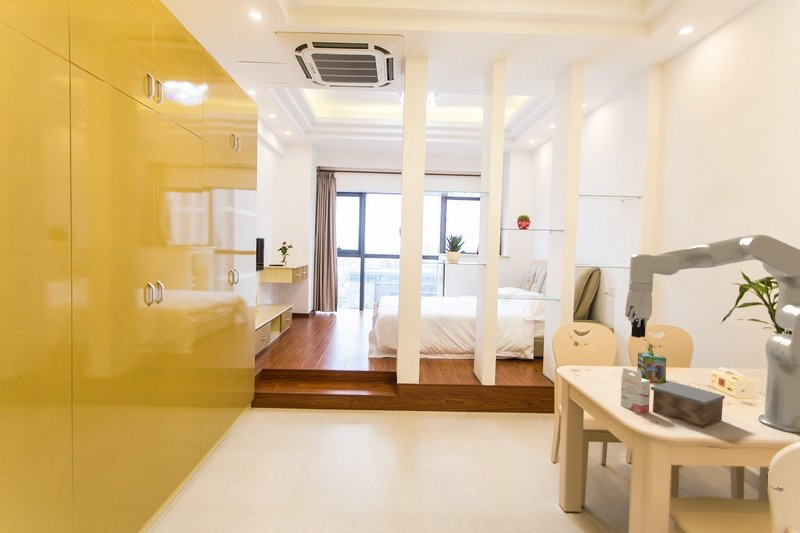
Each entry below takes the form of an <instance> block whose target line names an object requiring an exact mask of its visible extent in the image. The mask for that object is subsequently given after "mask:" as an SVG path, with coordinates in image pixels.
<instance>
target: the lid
mask: <svg viewBox="0 0 800 533" xmlns="http://www.w3.org/2000/svg"><path fill="white" fill-rule="evenodd" d="M650 391H653V392H654V391H657V392H661V393H664V394H668V395H671V396H674V397H678V398H681V399H685V400H688V401H691V402H695V403H698V404H702V405H707V404H710V403H713V402H716V401H719V400H722V399H723V400H724V399H725V398H726V396H725V395H724V394H720V393H716V392H713V391H708V390H705V389H701V388H697V387H694V386H689V385H685V384H683V383H680V382H679V383H678V382H675V381H670V382H666V383H661V384H657V385H653V386H650Z"/></svg>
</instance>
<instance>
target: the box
mask: <svg viewBox="0 0 800 533" xmlns="http://www.w3.org/2000/svg"><path fill="white" fill-rule="evenodd" d="M723 402H724V399H722V400H719V401H716V402H713V403H710V404H707V405H702V404H698V403H695V402H691V401H688V400H685V399H681V398H678V397H674V396H671V395H668V394H664V393H661V392H657V391H654V390H653V399H652V413H654V414H658V415H660V416H664V417H667V418H670V419H674V420H676V421H679V422H682V423H685V424H688V425H691V426H693V427H697V428H699V427H700V429H705V427H706V428H708V427H710V426H713V425H715V424H717V423H719V422H721V421H722V418H723Z"/></svg>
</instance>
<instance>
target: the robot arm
mask: <svg viewBox="0 0 800 533" xmlns="http://www.w3.org/2000/svg"><path fill="white" fill-rule="evenodd" d="M747 261H759V262H761V263H762V267H763V269H764V270H765V271H766V273H768V274H769V275H771V276H772V277H773V278H774V279H775V282H777V285H778V298H777V301H776V302H777V303H776V309H775V315H774V320H775V323H776V325H777V326H779V328H782V329H785V330H787V331H790V332H791V334H789V333H775V334H773V335H771V336H770V337H769V338H768V339H767V340H766V343H765V349H764V350H765V357H766V364H767V370H766V382H765V383H766V384H765V402H764V403H765V404H764V414H760V415H758V421H759V422H760V423H762V424H763V425H766V426H768V427H771V428H773V429H777V430H781V431H785V432H791V433H797V434H798V433H800V249H798V248H797V247H794V246H792V245H790V244H788V243H786V242H784V241H782V240H779V239H777V238H774V237H772V236H769V235H766V234H765V235H764V234H753V235H751V234H750V235H744V236H739V237H734V238H729V239H724V240H719V241H715V242H711V243H704V244H701V245H700V244H699V245H695V246H691V247H688V248H683V249H677V250H673V251H667V252H663V253H658V254H655V255H651V254H642V253H641V254H638V253H635V254H632V255H631V257H630V261H629V262H630V265H629V266H630V267H629V280H628V281H629V283H628V284H629V286H628V293H627V297H626V304H625V311H624V312H625V313H624V314H625V315H624V316H625V317H626V318H628V319H627V321H629V322H630V326H631V334H630V336H631V337H632V338H637V339H641V338H645V337H646V329H647V328H646V327H647V322H648V321H649V320H650V317H652V313H653V296H652V293H653V290H654V289H653V285H654V283H653V282H654V275H655V274H657V275H663V276H672V275H675V274H677V273H678V272H679V271H682V270H688V269H689V270H690V269H705V268H706V269H708V268H709V269H711V268H717V267H720V266H726V265H730V264H736V263H741V262H747Z"/></svg>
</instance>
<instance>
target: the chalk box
mask: <svg viewBox="0 0 800 533" xmlns="http://www.w3.org/2000/svg"><path fill="white" fill-rule="evenodd" d="M653 352H654V351H653V348H651V347H648V346H647V352H638V353H637V371H636V372H639V373H642V378H643V379H646V380H649V381H650V383H663V384H665V383H667V381H666V380H667V357H666V356H663V355H661V354H659V353H653Z"/></svg>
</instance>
